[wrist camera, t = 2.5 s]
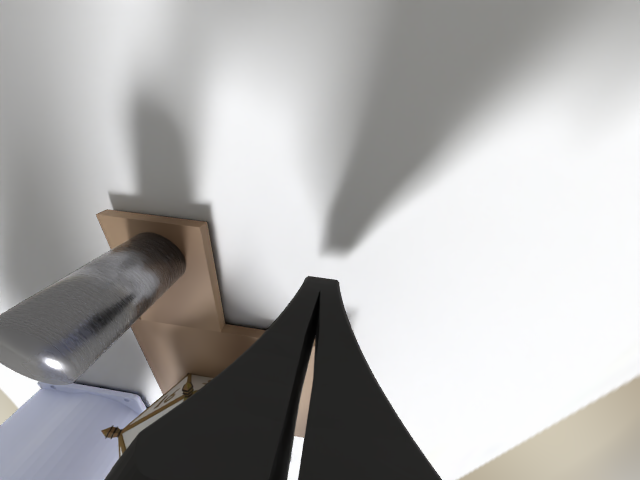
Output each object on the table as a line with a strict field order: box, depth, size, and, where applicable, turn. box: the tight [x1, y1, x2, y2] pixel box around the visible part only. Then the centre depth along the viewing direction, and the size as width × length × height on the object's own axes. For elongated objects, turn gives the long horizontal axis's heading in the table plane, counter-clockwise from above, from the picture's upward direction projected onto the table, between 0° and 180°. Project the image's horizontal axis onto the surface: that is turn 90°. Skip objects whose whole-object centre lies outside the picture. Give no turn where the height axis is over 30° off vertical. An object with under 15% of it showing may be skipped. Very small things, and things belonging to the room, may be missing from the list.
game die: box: [101, 373, 214, 458], centre depth 14 cm, size 9×8×10 cm
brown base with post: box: [0, 209, 315, 438], centre depth 13 cm, size 13×19×6 cm
